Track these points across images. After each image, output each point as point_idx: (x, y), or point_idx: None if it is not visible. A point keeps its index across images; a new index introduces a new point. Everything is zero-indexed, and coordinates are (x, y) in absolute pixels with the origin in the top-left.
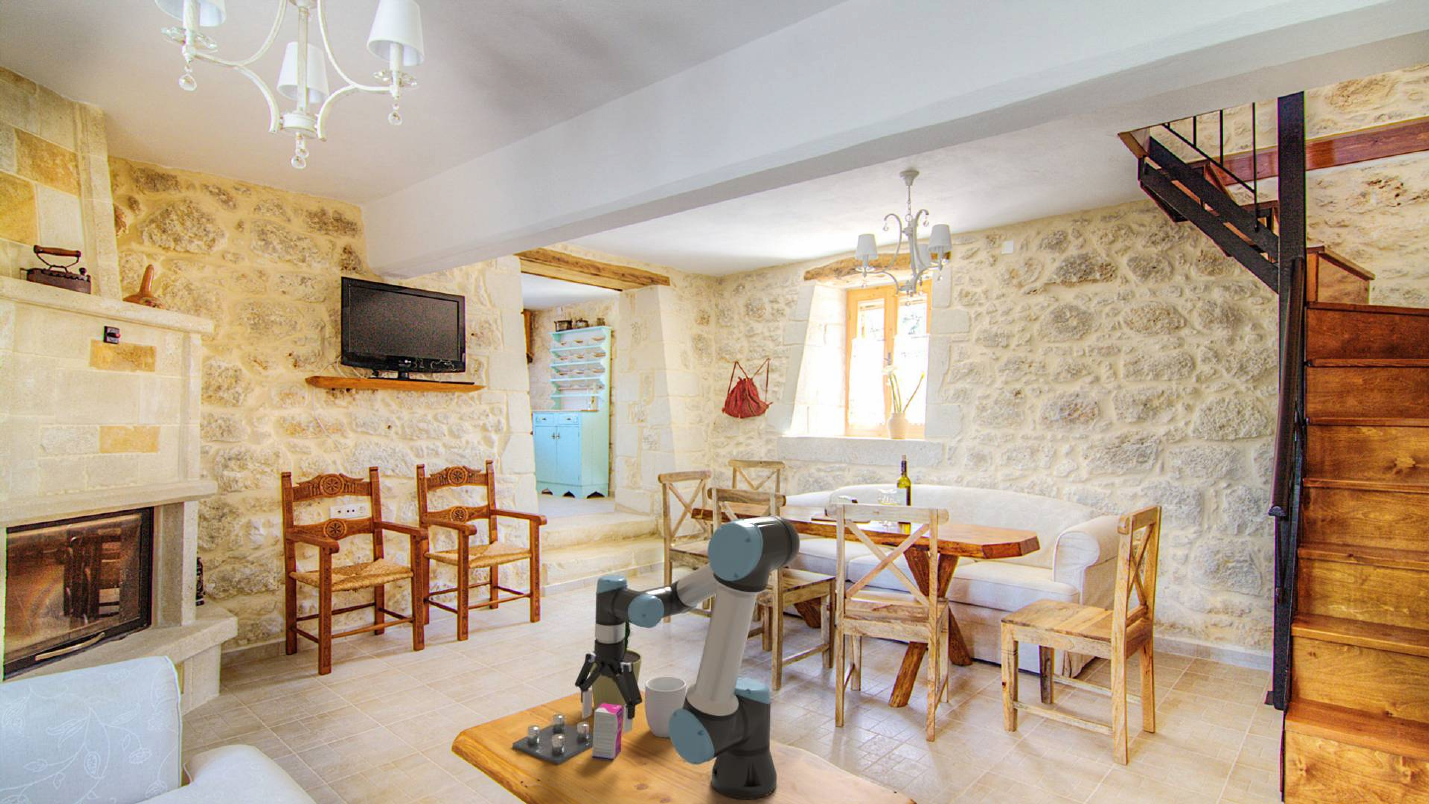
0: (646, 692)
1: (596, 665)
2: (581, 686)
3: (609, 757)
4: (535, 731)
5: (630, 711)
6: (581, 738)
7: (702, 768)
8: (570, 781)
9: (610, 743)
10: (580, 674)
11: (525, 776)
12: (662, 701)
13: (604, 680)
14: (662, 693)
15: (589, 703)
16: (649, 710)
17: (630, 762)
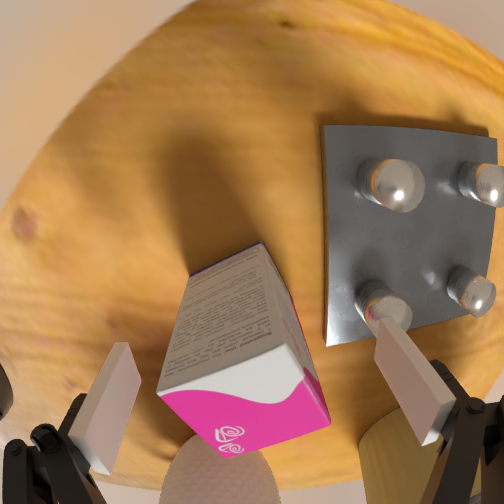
0: None
1: (479, 488)
2: (482, 416)
3: (200, 272)
4: (485, 176)
5: (68, 422)
6: (368, 288)
7: (28, 373)
8: (190, 80)
9: (192, 297)
10: None
11: (336, 18)
12: None
13: None
14: None
15: (398, 384)
16: (224, 478)
17: (143, 302)
